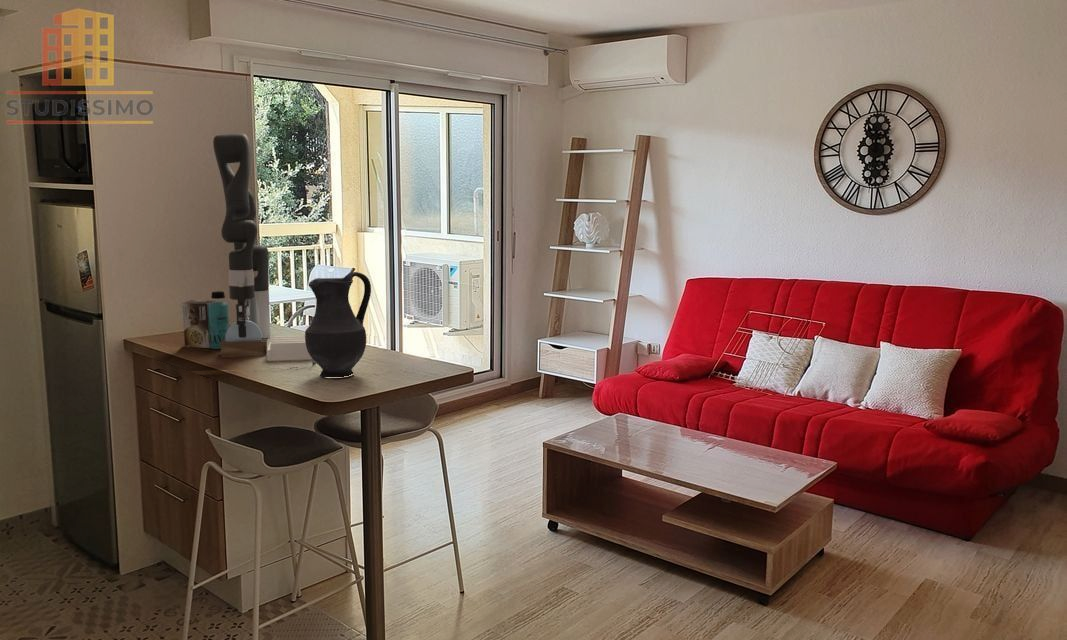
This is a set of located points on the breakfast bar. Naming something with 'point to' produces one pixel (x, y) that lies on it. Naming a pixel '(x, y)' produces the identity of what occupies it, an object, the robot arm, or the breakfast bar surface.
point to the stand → (244, 348)
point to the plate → (251, 332)
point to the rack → (288, 349)
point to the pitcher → (337, 326)
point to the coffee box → (196, 323)
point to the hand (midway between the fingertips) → (243, 335)
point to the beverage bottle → (218, 320)
